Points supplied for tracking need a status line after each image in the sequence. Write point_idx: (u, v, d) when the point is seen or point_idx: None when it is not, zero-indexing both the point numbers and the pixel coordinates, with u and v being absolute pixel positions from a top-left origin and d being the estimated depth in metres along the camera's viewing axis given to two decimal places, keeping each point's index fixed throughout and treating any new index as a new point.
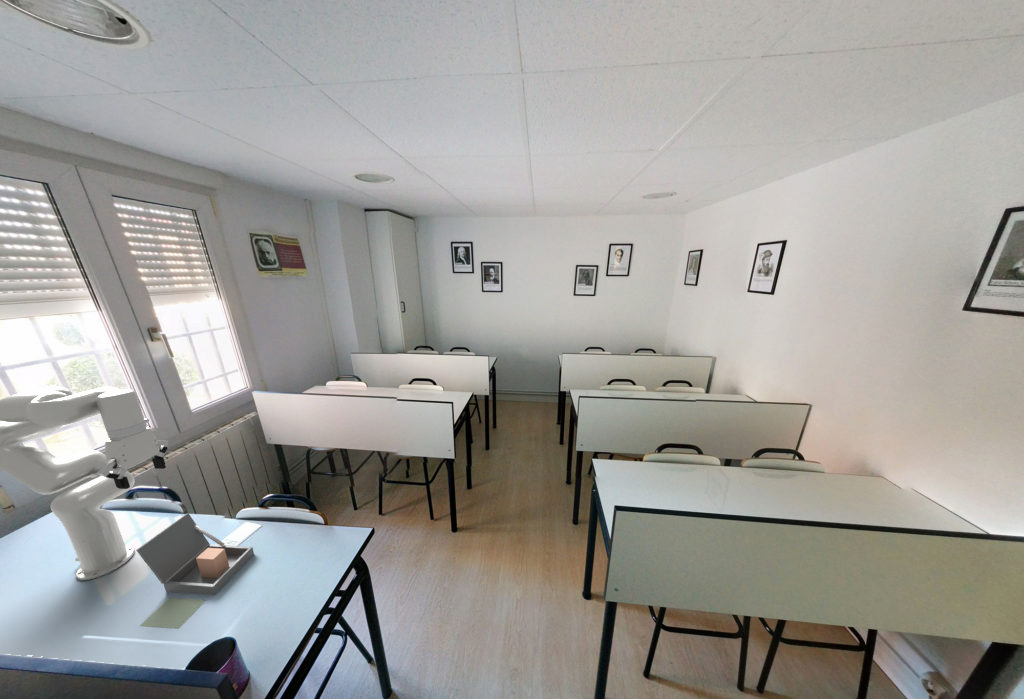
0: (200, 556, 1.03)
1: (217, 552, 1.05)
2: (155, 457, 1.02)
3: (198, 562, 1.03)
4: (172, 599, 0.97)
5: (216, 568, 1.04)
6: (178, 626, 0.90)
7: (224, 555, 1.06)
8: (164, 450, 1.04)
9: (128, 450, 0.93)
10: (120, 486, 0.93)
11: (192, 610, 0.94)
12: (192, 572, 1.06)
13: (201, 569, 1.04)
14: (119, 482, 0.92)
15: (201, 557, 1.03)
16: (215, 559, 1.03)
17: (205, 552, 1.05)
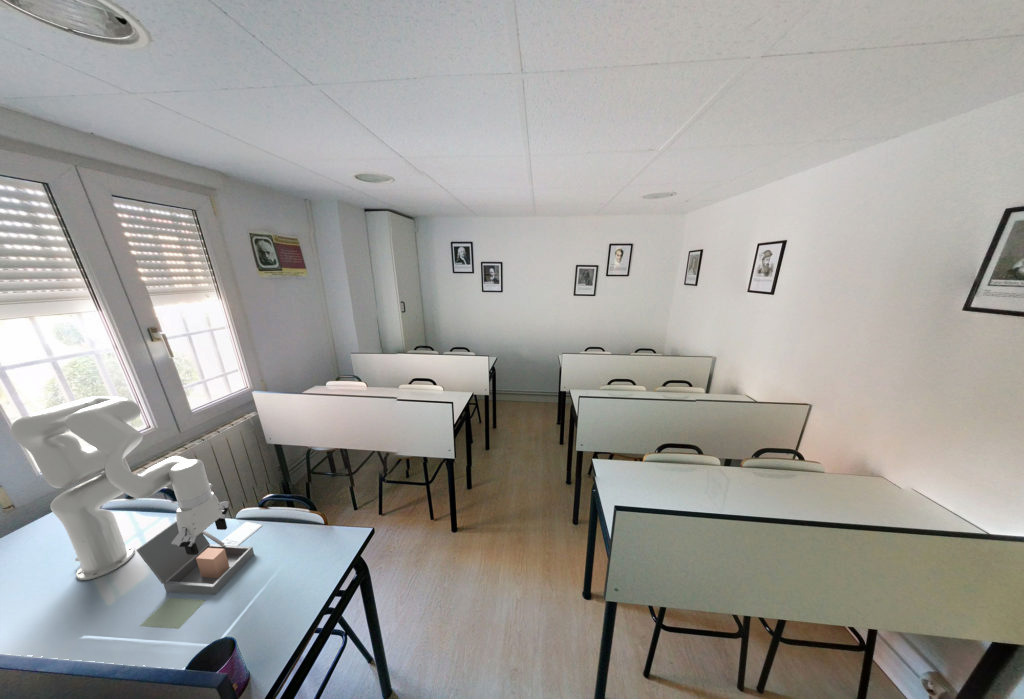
0: (200, 556, 1.03)
1: (217, 552, 1.05)
2: (217, 519, 1.06)
3: (198, 562, 1.03)
4: (172, 599, 0.97)
5: (216, 568, 1.04)
6: (178, 626, 0.90)
7: (224, 555, 1.06)
8: (225, 511, 1.08)
9: (197, 518, 0.97)
10: (190, 553, 0.97)
11: (192, 610, 0.94)
12: (192, 572, 1.06)
13: (201, 569, 1.04)
14: (189, 549, 0.97)
15: (201, 557, 1.03)
16: (215, 559, 1.03)
17: (205, 552, 1.05)
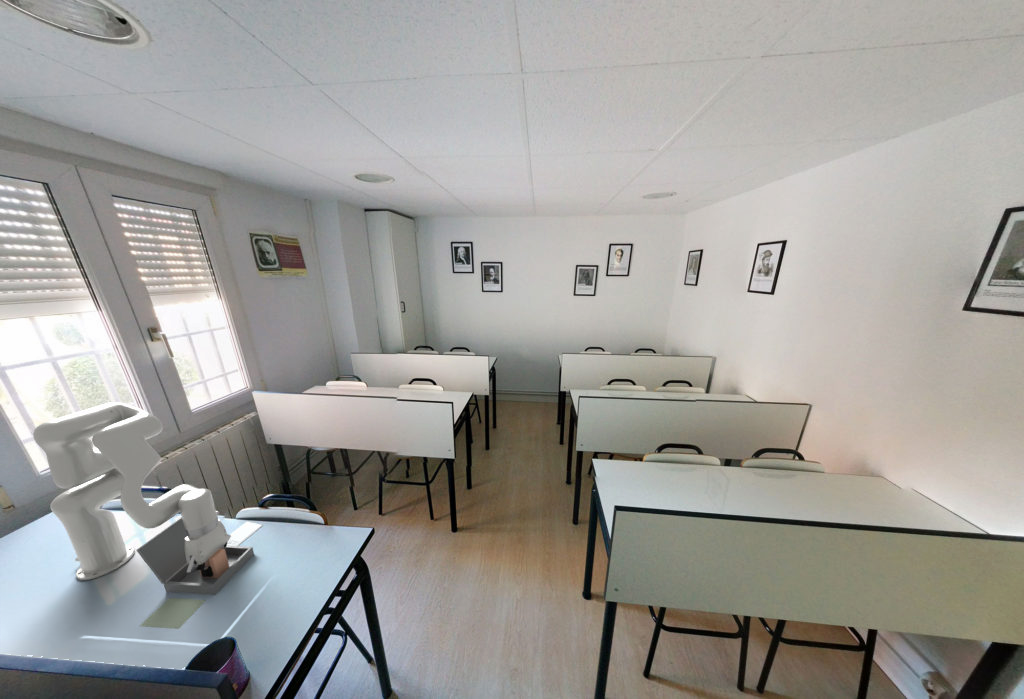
0: None
1: (217, 552, 1.05)
2: None
3: None
4: (172, 599, 0.97)
5: (216, 568, 1.04)
6: (178, 626, 0.90)
7: (224, 555, 1.06)
8: (225, 545, 1.09)
9: (204, 546, 1.00)
10: (205, 575, 1.02)
11: (192, 610, 0.94)
12: (192, 572, 1.06)
13: None
14: (205, 572, 1.02)
15: None
16: (215, 559, 1.03)
17: None
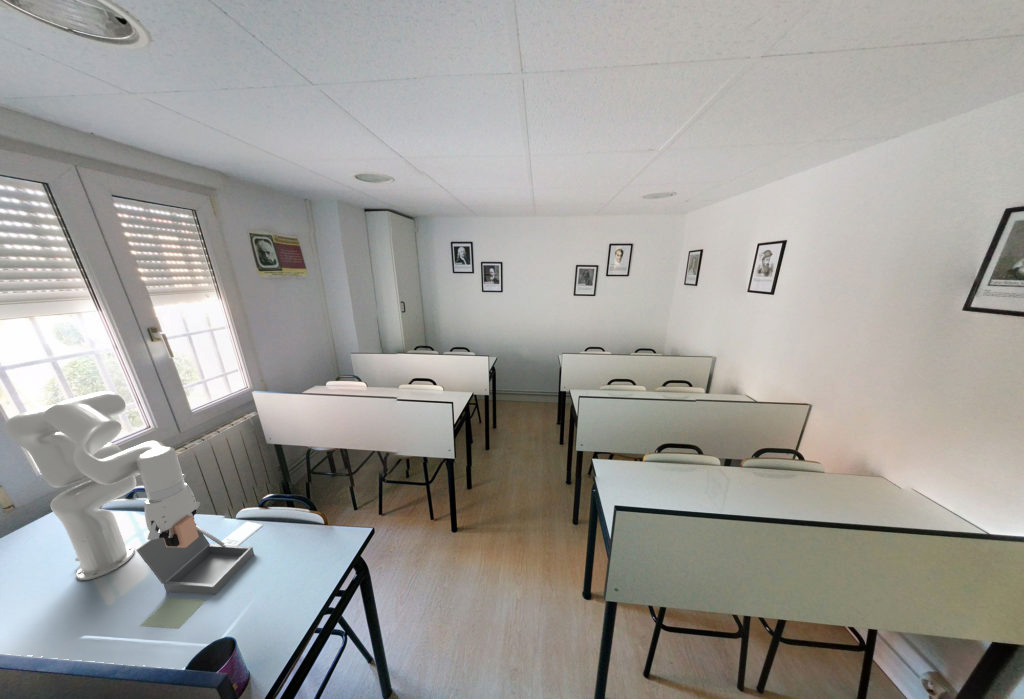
0: None
1: (184, 519, 0.94)
2: None
3: None
4: (172, 599, 0.97)
5: (183, 536, 0.93)
6: (178, 626, 0.90)
7: (192, 523, 0.95)
8: (193, 513, 0.98)
9: (168, 511, 0.89)
10: (170, 544, 0.92)
11: (192, 610, 0.94)
12: (192, 572, 1.06)
13: None
14: (170, 541, 0.91)
15: None
16: (181, 526, 0.92)
17: None
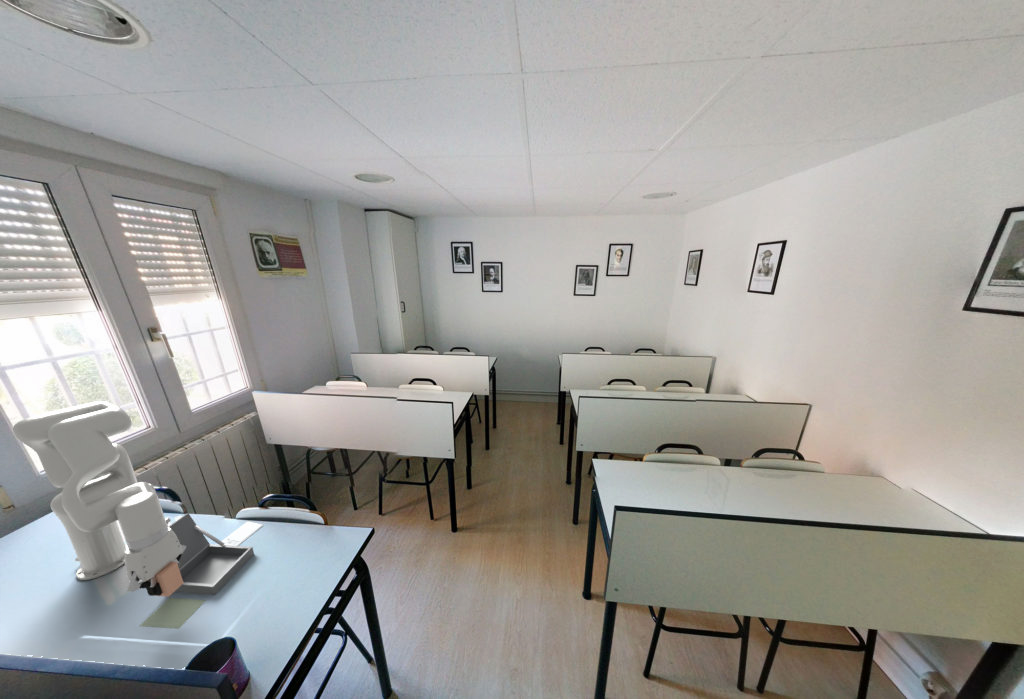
0: None
1: (167, 566, 0.90)
2: None
3: None
4: (172, 599, 0.97)
5: (166, 585, 0.89)
6: (178, 626, 0.90)
7: (176, 570, 0.91)
8: (178, 558, 0.94)
9: (149, 560, 0.85)
10: (152, 594, 0.87)
11: (192, 610, 0.94)
12: (192, 572, 1.06)
13: None
14: (152, 590, 0.87)
15: None
16: (164, 574, 0.88)
17: None
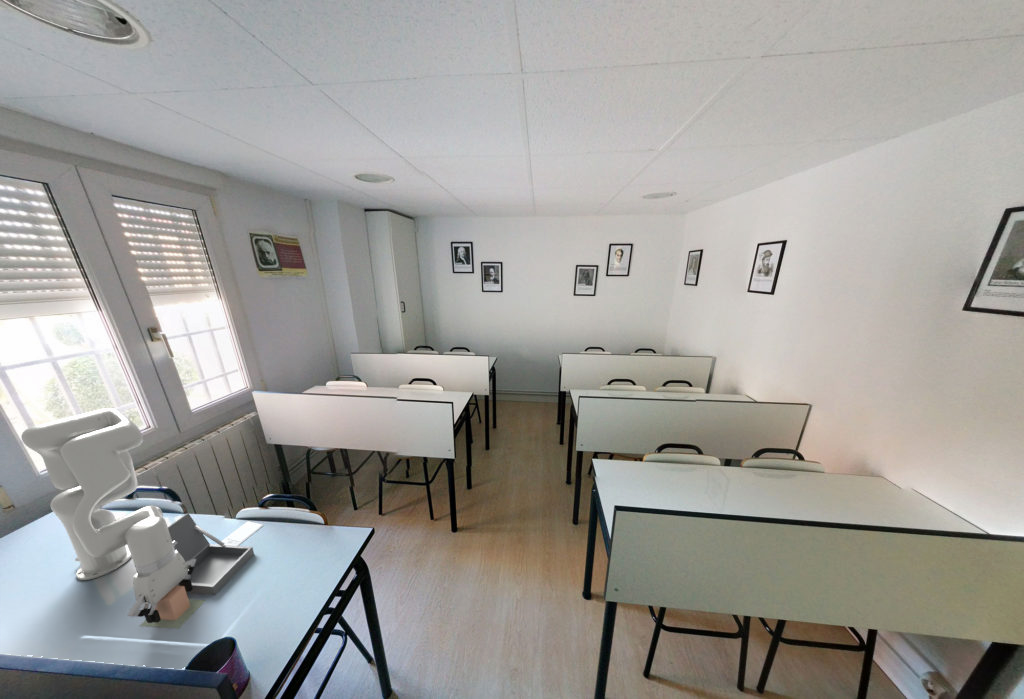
0: None
1: (175, 591, 0.92)
2: (181, 580, 0.96)
3: None
4: None
5: (174, 609, 0.91)
6: (178, 626, 0.90)
7: (184, 594, 0.94)
8: (191, 571, 0.98)
9: (157, 583, 0.87)
10: (151, 621, 0.87)
11: (192, 610, 0.94)
12: (192, 572, 1.06)
13: None
14: (150, 618, 0.87)
15: None
16: (172, 599, 0.90)
17: None
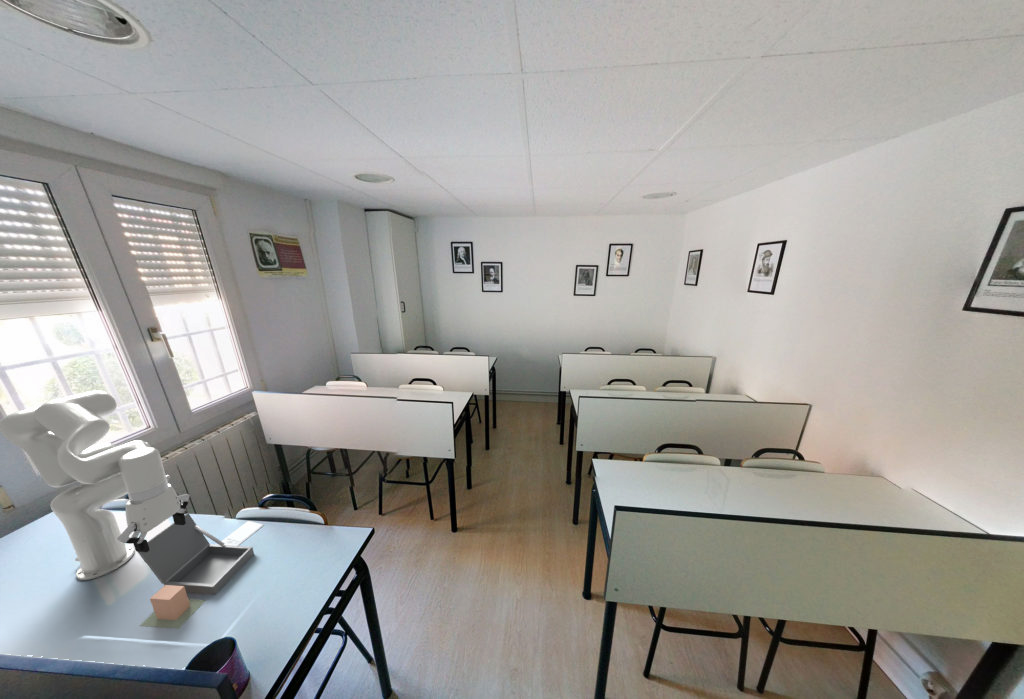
0: (155, 596, 0.91)
1: (175, 591, 0.92)
2: (175, 513, 0.97)
3: (153, 603, 0.90)
4: None
5: (174, 609, 0.91)
6: (178, 626, 0.90)
7: (184, 594, 0.94)
8: (185, 505, 0.99)
9: (149, 512, 0.88)
10: (139, 550, 0.88)
11: (192, 610, 0.94)
12: (192, 572, 1.06)
13: (156, 610, 0.91)
14: (139, 546, 0.88)
15: (156, 597, 0.90)
16: (172, 599, 0.90)
17: (161, 591, 0.92)
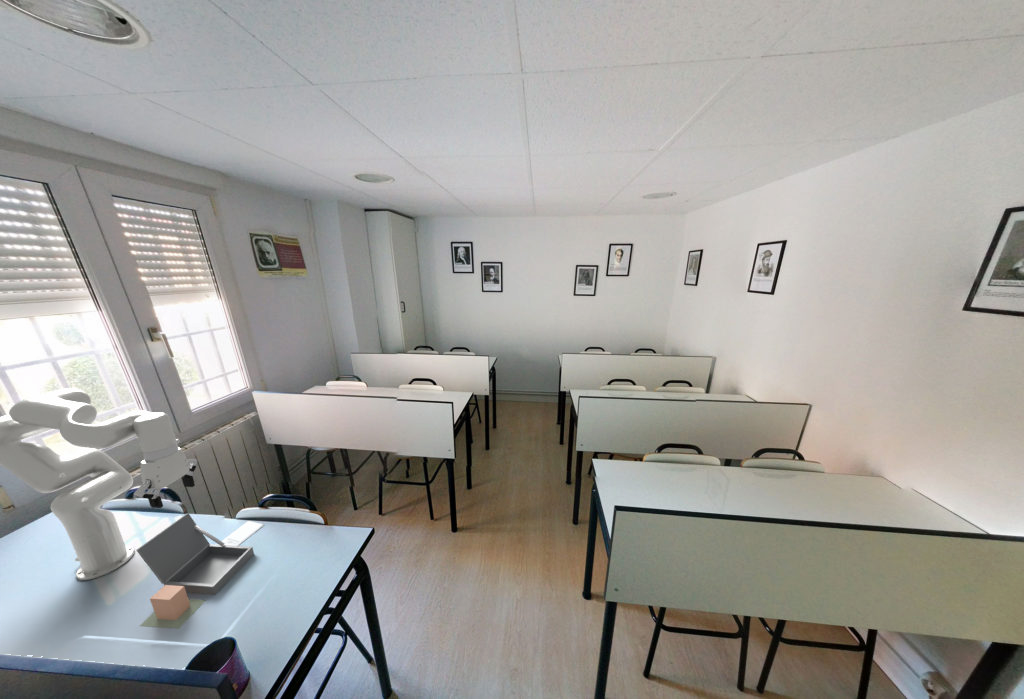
0: (155, 596, 0.91)
1: (175, 591, 0.92)
2: (185, 476, 1.06)
3: (153, 603, 0.90)
4: None
5: (174, 609, 0.91)
6: (178, 626, 0.90)
7: (184, 594, 0.94)
8: (193, 469, 1.08)
9: (162, 471, 0.97)
10: (154, 505, 0.97)
11: (192, 610, 0.94)
12: (192, 572, 1.06)
13: (156, 610, 0.91)
14: (153, 502, 0.96)
15: (156, 597, 0.90)
16: (172, 599, 0.90)
17: (161, 591, 0.92)
